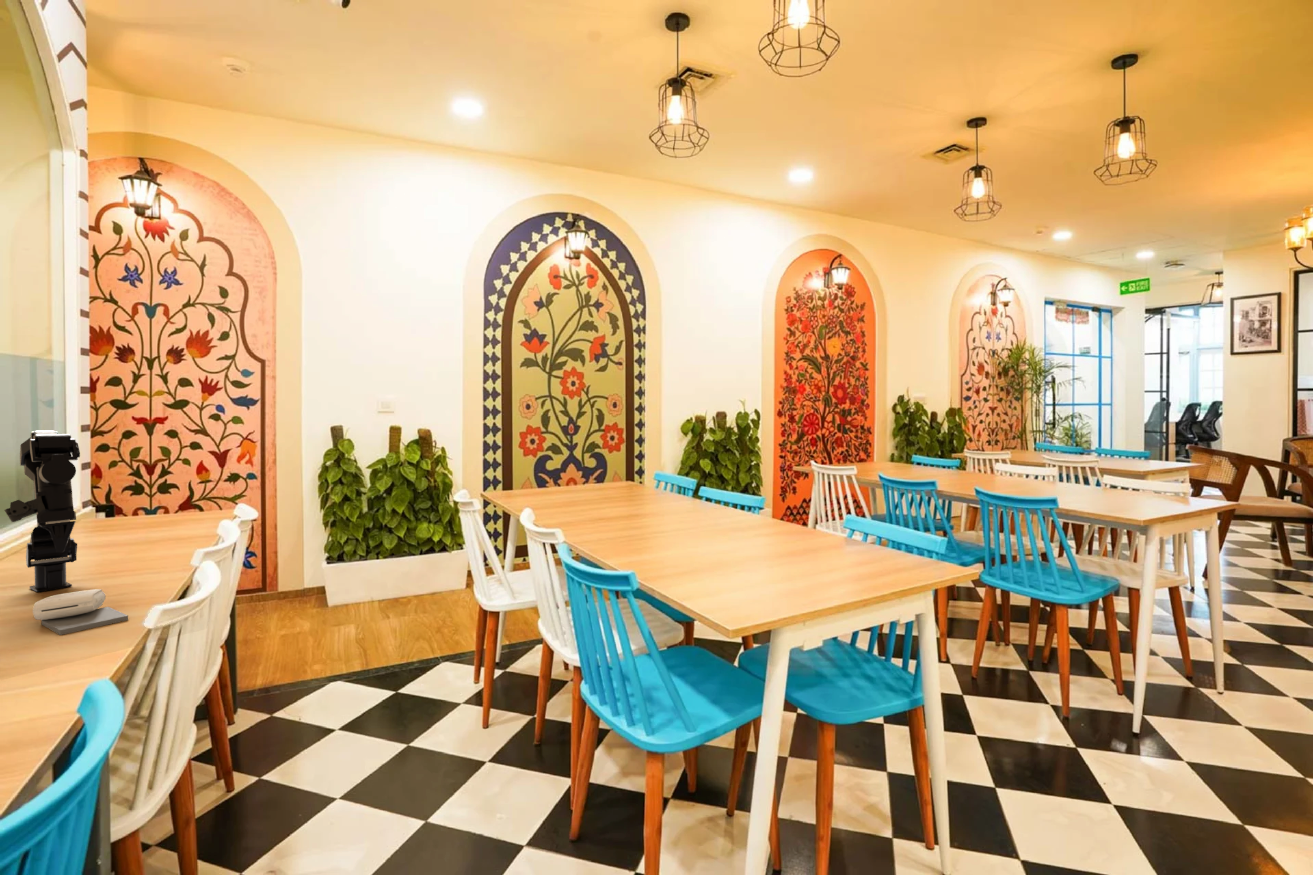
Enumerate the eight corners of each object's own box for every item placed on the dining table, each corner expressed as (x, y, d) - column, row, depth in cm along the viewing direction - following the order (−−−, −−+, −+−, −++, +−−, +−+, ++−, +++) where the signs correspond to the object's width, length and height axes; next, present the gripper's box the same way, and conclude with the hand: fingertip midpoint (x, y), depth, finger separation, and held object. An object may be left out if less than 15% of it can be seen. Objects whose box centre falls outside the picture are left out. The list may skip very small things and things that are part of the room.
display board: (41, 624, 131) (41, 619, 131) (108, 610, 141) (108, 606, 141) (59, 634, 125) (59, 630, 125) (128, 620, 135) (128, 615, 135)
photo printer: (105, 586, 144) (93, 592, 133) (107, 605, 143) (95, 613, 133) (44, 595, 138) (27, 602, 128) (45, 614, 138) (28, 623, 127)
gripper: (10, 492, 150) (15, 557, 149) (1, 488, 136) (7, 560, 135) (73, 487, 157) (78, 548, 157) (71, 482, 143) (77, 550, 143)
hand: (60, 552), depth 148 cm, fingers closed
